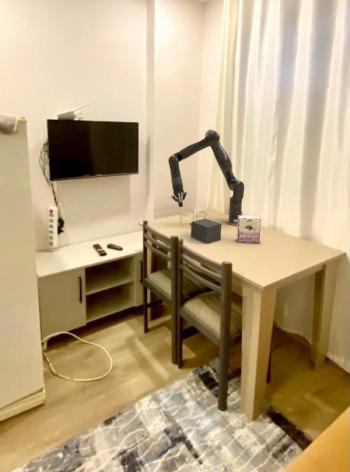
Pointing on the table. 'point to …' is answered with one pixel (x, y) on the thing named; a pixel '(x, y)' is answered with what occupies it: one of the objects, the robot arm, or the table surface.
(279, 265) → the table surface
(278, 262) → the table surface
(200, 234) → the dark grey rectangular block
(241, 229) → the candy box
